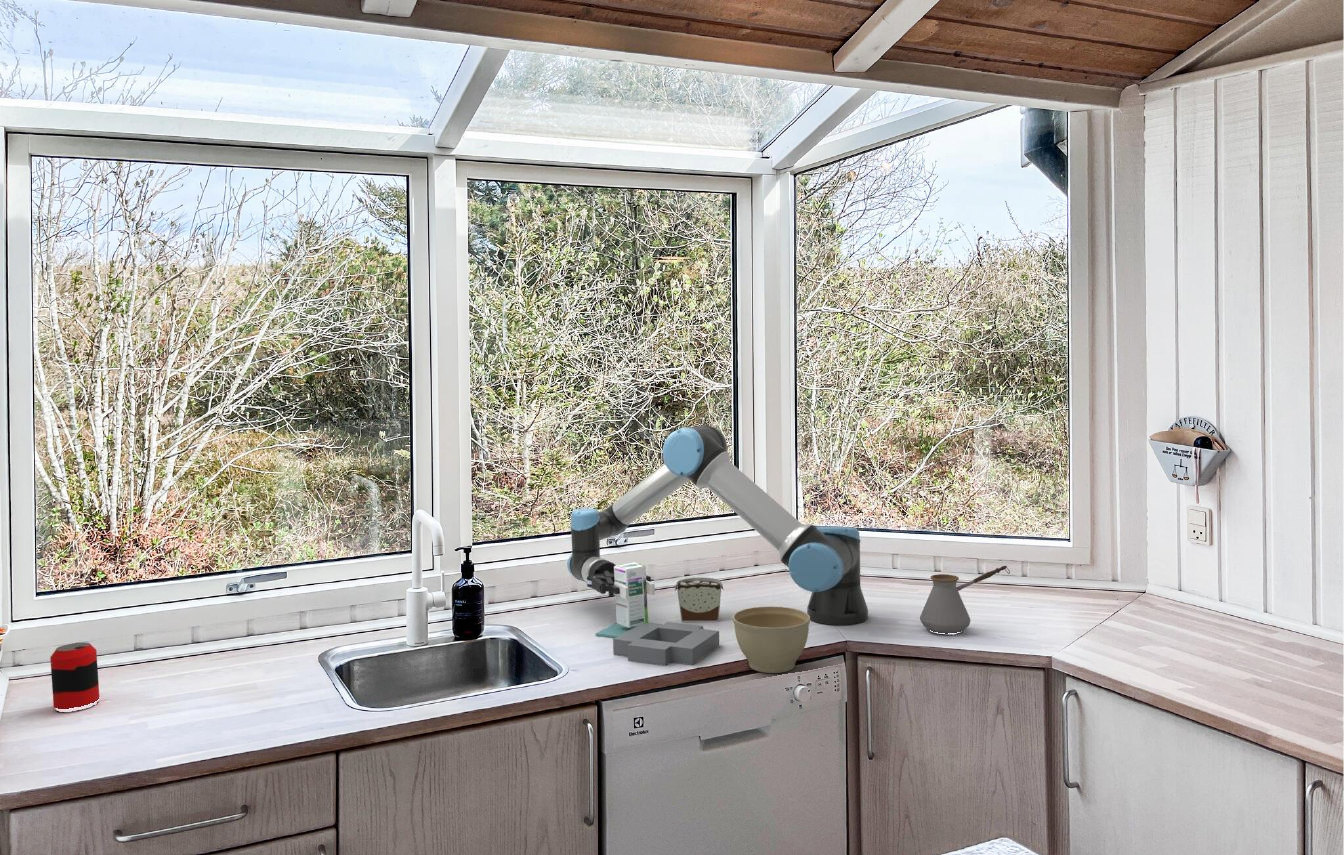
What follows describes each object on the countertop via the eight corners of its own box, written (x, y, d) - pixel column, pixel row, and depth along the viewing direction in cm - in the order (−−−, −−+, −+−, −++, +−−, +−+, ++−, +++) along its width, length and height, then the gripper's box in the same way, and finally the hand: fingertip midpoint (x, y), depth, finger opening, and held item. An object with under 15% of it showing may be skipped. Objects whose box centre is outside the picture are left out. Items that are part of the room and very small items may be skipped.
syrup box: (628, 628, 213) (626, 568, 212) (615, 623, 218) (613, 564, 217) (648, 624, 217) (646, 565, 216) (635, 619, 221) (633, 561, 220)
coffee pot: (929, 638, 204) (929, 574, 204) (913, 625, 216) (912, 564, 215) (1020, 634, 206) (1019, 570, 205) (999, 621, 217) (998, 560, 216)
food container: (725, 615, 230) (724, 576, 229) (724, 621, 224) (723, 582, 223) (677, 615, 231) (676, 577, 231) (675, 621, 225) (674, 582, 224)
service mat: (668, 627, 220) (668, 624, 220) (643, 641, 209) (643, 639, 209) (622, 621, 226) (622, 619, 226) (595, 635, 214) (595, 633, 214)
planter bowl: (731, 679, 181) (730, 626, 181) (736, 654, 197) (735, 605, 197) (811, 680, 179) (810, 627, 178) (810, 655, 195) (809, 606, 194)
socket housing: (723, 642, 206) (723, 627, 206) (687, 668, 188) (686, 652, 188) (649, 633, 215) (648, 619, 214) (607, 657, 197) (607, 642, 197)
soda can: (71, 715, 171) (67, 654, 171) (44, 710, 174) (40, 650, 173) (108, 701, 178) (104, 642, 178) (82, 697, 181) (78, 639, 181)
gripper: (634, 583, 237) (676, 601, 217) (567, 593, 228) (604, 612, 208) (633, 555, 237) (675, 570, 217) (566, 564, 228) (603, 581, 207)
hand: (640, 591), depth 212 cm, fingers closed on syrup box, 6 cm apart
